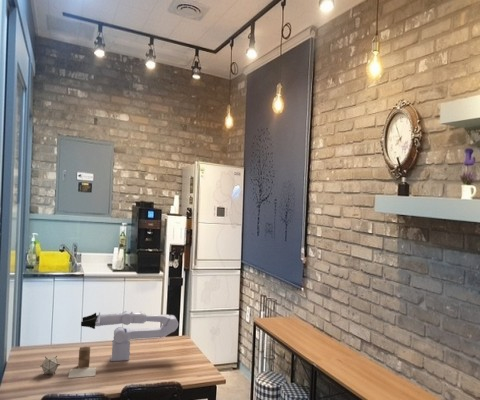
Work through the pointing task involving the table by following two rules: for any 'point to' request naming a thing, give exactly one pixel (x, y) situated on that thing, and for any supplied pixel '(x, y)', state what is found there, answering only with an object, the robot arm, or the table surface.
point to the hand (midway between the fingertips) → (81, 321)
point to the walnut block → (84, 357)
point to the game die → (50, 365)
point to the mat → (82, 372)
